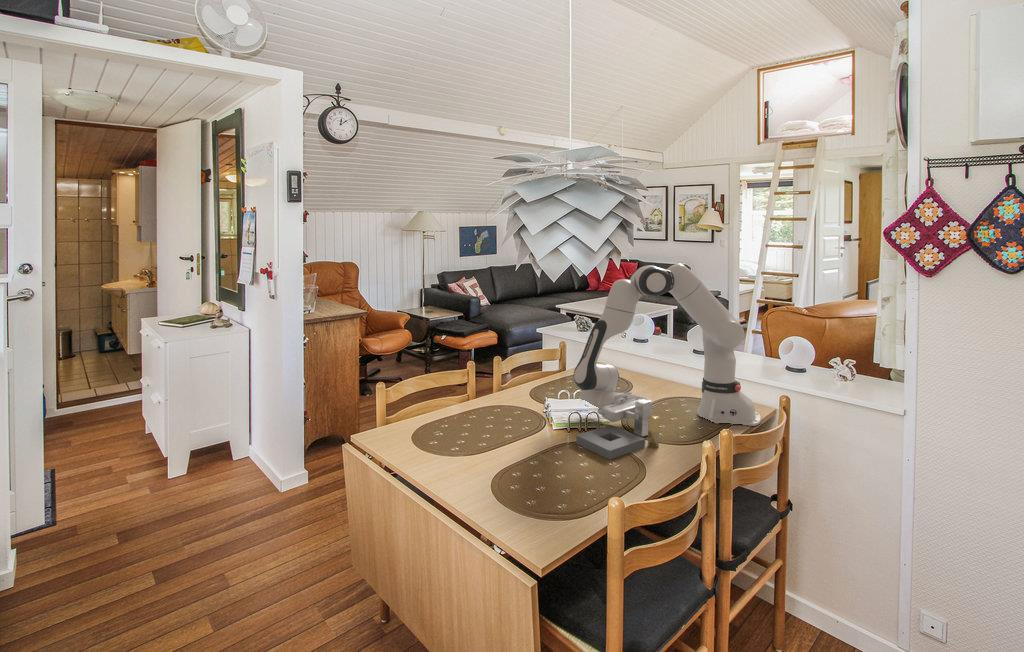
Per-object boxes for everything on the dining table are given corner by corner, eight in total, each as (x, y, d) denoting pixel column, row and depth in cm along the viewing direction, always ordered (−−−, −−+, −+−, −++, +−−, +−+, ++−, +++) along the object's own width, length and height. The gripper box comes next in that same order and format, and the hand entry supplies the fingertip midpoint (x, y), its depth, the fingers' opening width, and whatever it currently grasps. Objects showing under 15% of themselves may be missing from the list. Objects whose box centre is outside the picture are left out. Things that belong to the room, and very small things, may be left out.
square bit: (634, 433, 198) (635, 400, 196) (641, 431, 200) (642, 398, 198) (641, 436, 196) (642, 403, 193) (649, 434, 198) (650, 401, 195)
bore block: (576, 443, 192) (576, 435, 191) (610, 432, 201) (610, 424, 200) (609, 459, 179) (609, 450, 178) (644, 447, 188) (645, 438, 187)
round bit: (659, 445, 189) (660, 416, 187) (657, 449, 186) (658, 420, 184) (648, 443, 191) (649, 415, 189) (646, 447, 188) (647, 418, 186)
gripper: (594, 402, 201) (622, 413, 189) (634, 391, 212) (663, 400, 201) (594, 419, 202) (622, 431, 191) (634, 407, 213) (663, 417, 202)
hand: (644, 415), depth 196 cm, fingers closed on square bit, 4 cm apart
